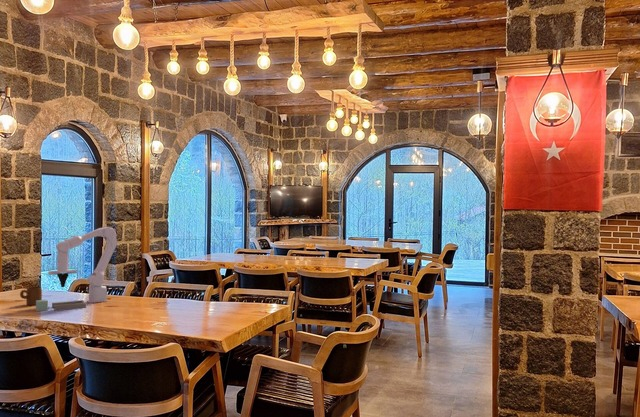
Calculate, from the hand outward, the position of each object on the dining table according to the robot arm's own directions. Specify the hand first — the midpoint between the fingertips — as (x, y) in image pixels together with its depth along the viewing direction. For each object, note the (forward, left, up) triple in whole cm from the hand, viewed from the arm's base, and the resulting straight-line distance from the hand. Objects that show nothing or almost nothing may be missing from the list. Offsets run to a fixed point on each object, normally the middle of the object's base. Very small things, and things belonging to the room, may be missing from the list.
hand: (62, 286), depth 303 cm
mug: (+15, -6, -10) cm, 19 cm away
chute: (-1, +12, -10) cm, 15 cm away
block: (+12, +12, -10) cm, 20 cm away
